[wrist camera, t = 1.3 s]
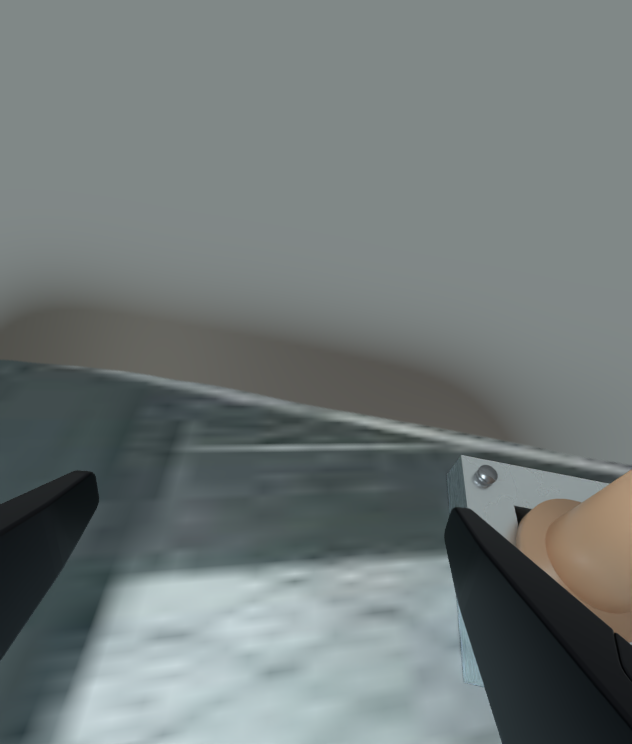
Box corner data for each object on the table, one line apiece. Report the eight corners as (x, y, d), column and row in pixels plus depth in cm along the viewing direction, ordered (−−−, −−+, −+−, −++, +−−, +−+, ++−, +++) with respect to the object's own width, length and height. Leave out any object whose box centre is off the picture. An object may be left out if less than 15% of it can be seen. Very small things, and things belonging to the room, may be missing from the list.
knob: (630, 598, 22) (896, 518, 13) (574, 683, 19) (868, 663, 9) (530, 504, 26) (676, 389, 16) (469, 563, 23) (606, 463, 13)
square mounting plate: (704, 739, 18) (777, 745, 15) (463, 682, 19) (493, 678, 16) (610, 507, 26) (647, 485, 23) (446, 475, 27) (464, 450, 24)
